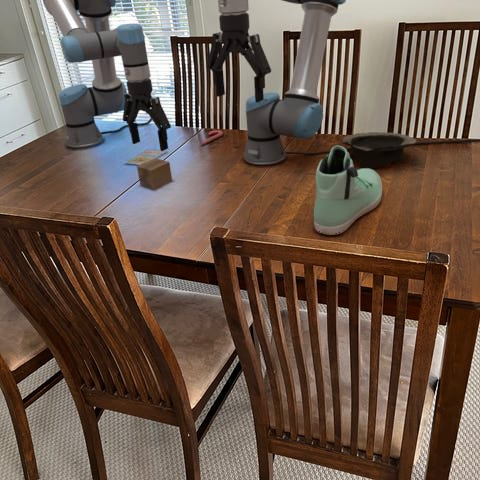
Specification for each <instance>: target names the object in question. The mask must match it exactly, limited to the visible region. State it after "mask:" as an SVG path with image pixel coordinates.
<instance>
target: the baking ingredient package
mask: <svg viewBox="0 0 480 480" xmlns="http://www.w3.org/2000/svg"><path fill="white" fill-rule="evenodd" d="M165 153H166V151H161V150H155V149H146V150H145V151H143V152H141V153H139V154H138V155H136V156H134V157H132V158H131V159H129V160H126V161H125V162H124V163H125V164H130V165H137V166H139V165H141V164H144V163H146V162H148V161H150V160H152V159H155V158H157V159H158V158H159V157H160V156H162V155H163V154H165Z"/></svg>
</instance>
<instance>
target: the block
mask: <svg viewBox="0 0 480 480" xmlns="http://www.w3.org/2000/svg"><path fill="white" fill-rule="evenodd" d="M136 170H137V175H138V180H139V185H140V187H143V188H146V189H149V190H151V191H156V190H158V189H160V188H162V187H164V186H166V185H168V184H170V183H172V182H173V176H172V171H171V163H170V161H167V160H164V159H160V158H158V157H157V158H155V159H152V160H150V161H148V162H146V163H144V164H141V165H137V166H136Z"/></svg>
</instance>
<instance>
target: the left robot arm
mask: <svg viewBox="0 0 480 480" xmlns="http://www.w3.org/2000/svg"><path fill="white" fill-rule="evenodd" d="M42 2H43V6H44V8H45V9H46V11H47V13H48V14H49V15H50V16H52V17H53V19H54V21H55V24H56V25H57V27H58V29H59V31H60V33H61V35H62V37H61V38H60V46H61V49H62V54H63V56H64V59H65V60H66V62H67V63H69V64H72V63H84V62H89V61H91V63H92V69H93V75H94V78H93V79H92V80H91V85H92V86H89V87H88V86H87V85H86V84H84V83H80V84H75V85H72V86H69V87H66V88H63V89H62V90H61V91H60V92H59V93H58V99H59V105H60V107H61V111H62V115H63V119H64V123H65V126H66V133H65V144H66V148H68V149H70V150H85V149H92V148H94V147H97V146H99V145H102V143H104V135H107V134H117V133H119V132H121V131H123V129H125V128H128V130H129V133H130V138H131V143H132V144H133V145H136V144H139V143H141V138H140V133H139V132H140V131H139V128H138V127H142V126H143V127H144V126H147V125H149V124H151V122H153V123H154V125H155V127H157V129H158V130H157V137H158V144H159V149H160V150H159V151H163V152H165V151H167V150H169V144H168V139H169V138H168V129H171V128H172V125H171V123H170V121H169V119H168V117H167V115H166V113H165V110H164V108H163V106H162V104H161V100H160V97H159V96H156V97H153V96H152V93H153V82H152V79H150V78H151V76H152V75H151V70H150V64H149V59H148V52H147V47H146V40H145V39H146V37H145V33H144V29H143V25H141V23H135V22H134V23H125V24H120V25H118V26H117V27H116V28H113V29H111V27H110V20H109V17H111V15H112V14H113V11H112V8H114V7H115V6H116V0H42ZM81 17H82V18H84V22H83V19H81ZM84 23H85V24H84ZM115 57H121V62H122V65H123V72H124V77H125V80H126V84H125V83H124V82H123V81H122V80H121V78H120V77H118V76H117V69H116V62H115ZM140 111H142V112H145V113H146V114H147V115H148V116H149V117H150V119H149V120H148V121H146V122H143V123H138V122H137V120H136V119H137V117H138V116H139V112H140ZM119 112H123V114H122V121H123V122H126V124H125V125H122V126H121V127H120V128H117V129H116V130H106V131H101V130H100V129H99V127H98V125H97V124H96V121H95V117H99V116H105V115H109V114H114V113H115V114H117V113H119Z"/></svg>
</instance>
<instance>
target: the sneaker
mask: <svg viewBox="0 0 480 480" xmlns="http://www.w3.org/2000/svg"><path fill="white" fill-rule="evenodd" d="M346 149H347V148H345V147H344V146H342V145H334V146H333V147H331V149H330V151H331V152H330V153H328V154H327V155H326V156H325V157H324V158H322V159H321V160H320V161H319V163H318V164H317V165H318V166H317V168H316V172H315V201H314V207H313V225H314V229H315V231H316V232H318V233H320V234H323V235H326V236H327V235H328V236H336V235H339V234H342V233H344V232H345V231H347V230H348V229H349V228H350V227H351V226H352V225H353V224H354V222H356V221H357V220H358V219H359V218H360V217H362V216H363V215H365V214H367V213H370V212H372V210H374V209H375V208H377V207H378V205H380V203H381V200H382V196H383V184H382V183H383V182H382V179H381V176H380V175H379V173H378V172H377V171H376V170H374V169H372V168H369V167H363V168H358V169H357V168H355V167H354V161H353V159H352V158H351V156H350V153H349V152H348V150H346ZM343 230H344V231H343ZM319 231H320V232H319ZM322 232H323V233H322ZM339 232H340V233H339ZM326 233H327V234H326ZM328 233H329V234H328ZM335 233H337V234H335Z"/></svg>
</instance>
